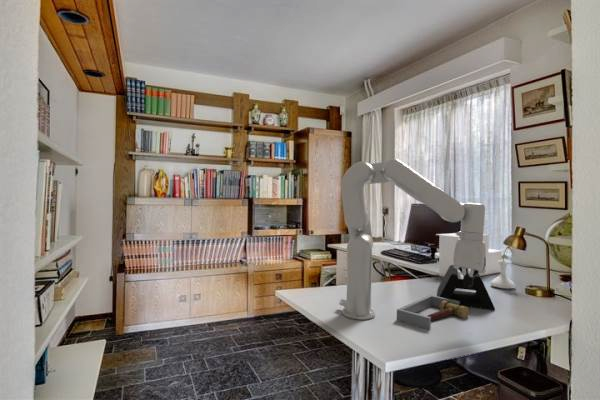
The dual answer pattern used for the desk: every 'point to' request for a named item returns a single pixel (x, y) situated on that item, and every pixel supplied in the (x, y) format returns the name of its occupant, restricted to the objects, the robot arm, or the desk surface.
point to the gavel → (449, 311)
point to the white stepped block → (448, 248)
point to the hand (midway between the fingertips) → (467, 286)
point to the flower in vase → (503, 275)
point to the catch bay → (411, 310)
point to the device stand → (466, 299)
